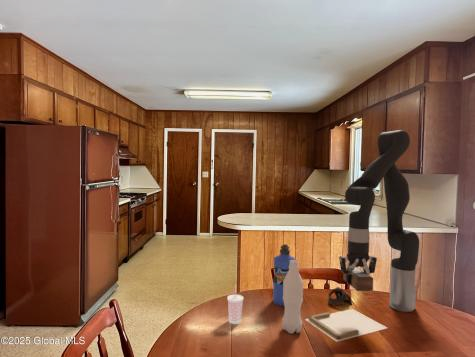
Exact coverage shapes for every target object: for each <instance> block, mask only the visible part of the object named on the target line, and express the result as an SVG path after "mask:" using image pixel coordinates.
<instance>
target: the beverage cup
mask: <svg viewBox="0 0 475 357" xmlns="http://www.w3.org/2000/svg"><path fill="white" fill-rule="evenodd" d="M234 286H235V287H234V293H233V294H229V295H227V297H226V298H227V303H228V304H227V306H228V307H227V308H228V323H229V324H233V325H238V324H240V323H241V322H242V315H243V314H242V312H243V304H244V303H243V302H244V300H245V298H244V296H243V295H241V294H237V284H236V283H235V284H234Z"/></svg>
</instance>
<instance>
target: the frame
mask: <svg viewBox="0 0 475 357" xmlns="http://www.w3.org/2000/svg"><path fill="white" fill-rule="evenodd" d="M346 269H347V267H346ZM342 274H343V276H342V280H343V281H344V282H346V274H344V273H343V272H342ZM351 275H352V276H351V285H350V286H351V287H352V288H353V289H354V290H356V291H357V292H372V291H373V290H374V277H372V276H371V275H370V274H369V275H368V274H366V273H365V272H364V271H363V269H360V268H359V267H355V269H354V270H353V271H352V273H351Z"/></svg>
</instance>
